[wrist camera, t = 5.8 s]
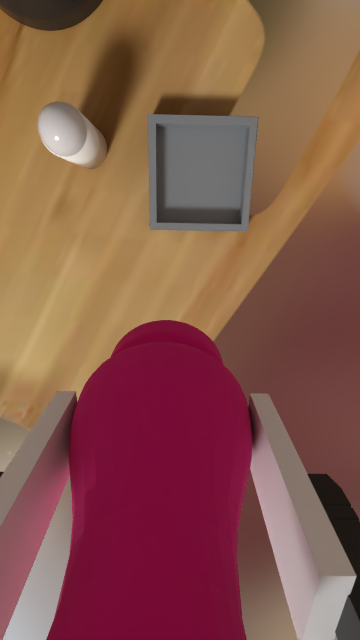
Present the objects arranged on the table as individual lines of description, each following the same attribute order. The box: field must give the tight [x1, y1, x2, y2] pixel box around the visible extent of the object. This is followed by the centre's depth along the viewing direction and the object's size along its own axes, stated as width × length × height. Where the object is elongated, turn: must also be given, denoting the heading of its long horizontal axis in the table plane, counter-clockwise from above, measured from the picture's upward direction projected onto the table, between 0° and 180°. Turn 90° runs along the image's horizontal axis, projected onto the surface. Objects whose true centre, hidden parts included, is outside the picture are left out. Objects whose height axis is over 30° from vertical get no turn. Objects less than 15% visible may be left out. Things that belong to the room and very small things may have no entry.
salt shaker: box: [38, 102, 107, 169], centre depth 30 cm, size 4×4×10 cm
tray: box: [148, 114, 258, 232], centre depth 35 cm, size 12×12×2 cm
